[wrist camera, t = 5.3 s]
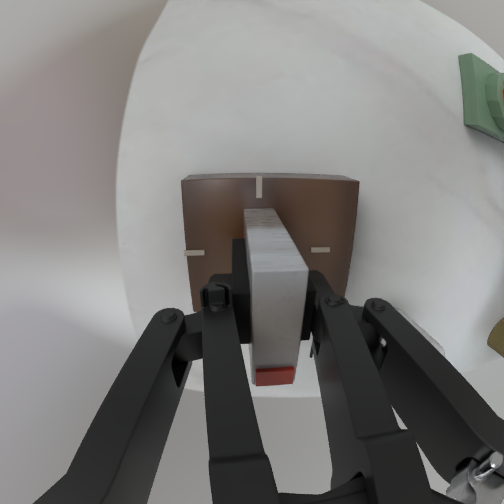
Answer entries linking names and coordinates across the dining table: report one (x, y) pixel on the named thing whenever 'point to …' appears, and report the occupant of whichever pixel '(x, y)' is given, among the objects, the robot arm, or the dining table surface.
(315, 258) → the tap panel
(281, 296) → the gray rectangular block
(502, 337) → the pepper shaker
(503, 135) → the button box
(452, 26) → the dining table surface
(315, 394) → the dining table surface
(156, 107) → the dining table surface
